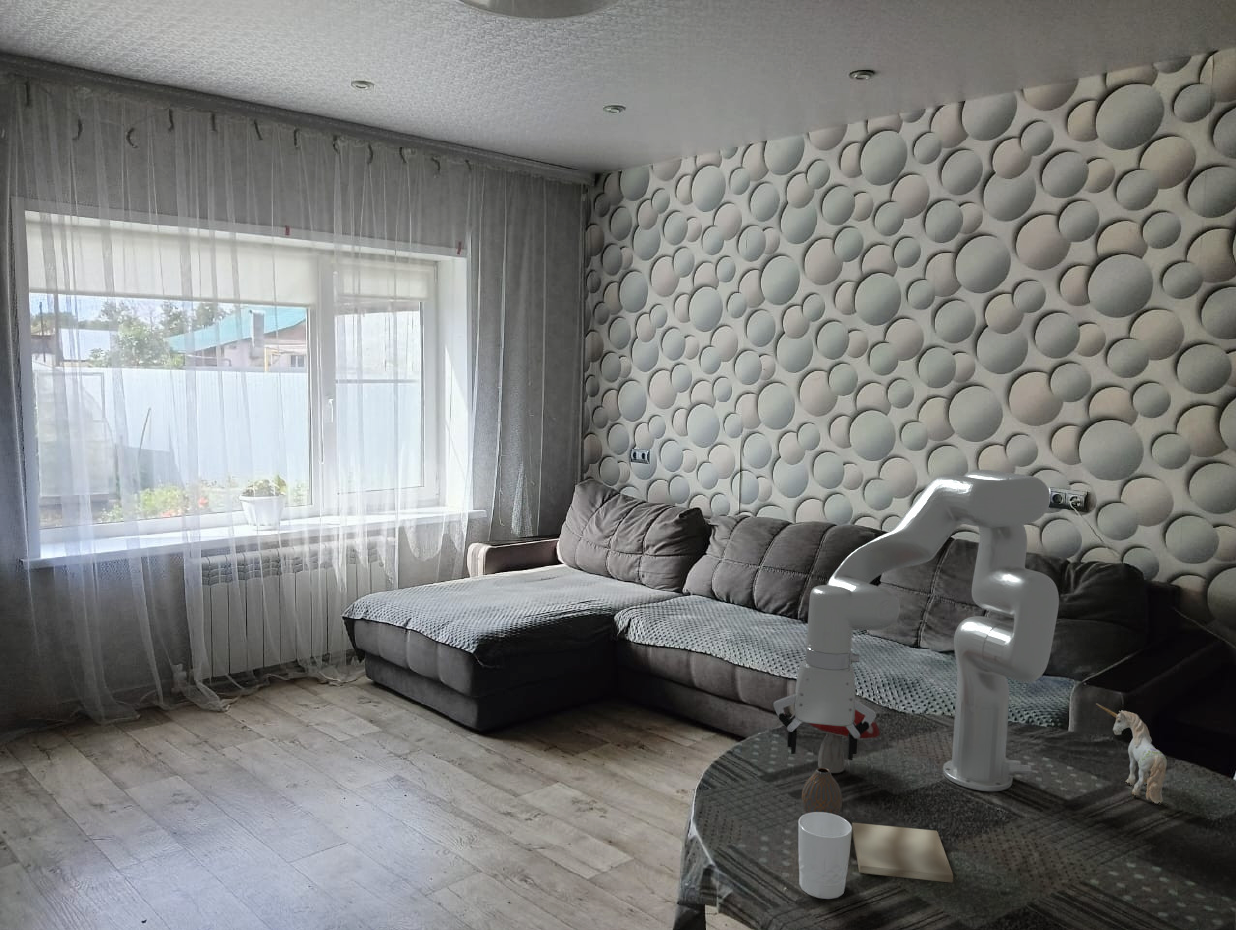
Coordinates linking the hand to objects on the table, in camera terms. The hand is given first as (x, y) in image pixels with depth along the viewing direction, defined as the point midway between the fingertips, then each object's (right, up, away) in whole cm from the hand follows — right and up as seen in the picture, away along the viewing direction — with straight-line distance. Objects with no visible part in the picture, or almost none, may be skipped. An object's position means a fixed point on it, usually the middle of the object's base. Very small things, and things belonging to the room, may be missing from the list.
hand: (821, 754), depth 161 cm
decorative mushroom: (+8, -10, +22) cm, 25 cm away
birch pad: (+10, -13, -10) cm, 20 cm away
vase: (0, -12, +2) cm, 12 cm away
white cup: (-4, -14, -20) cm, 25 cm away
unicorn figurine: (+61, -12, +16) cm, 64 cm away
